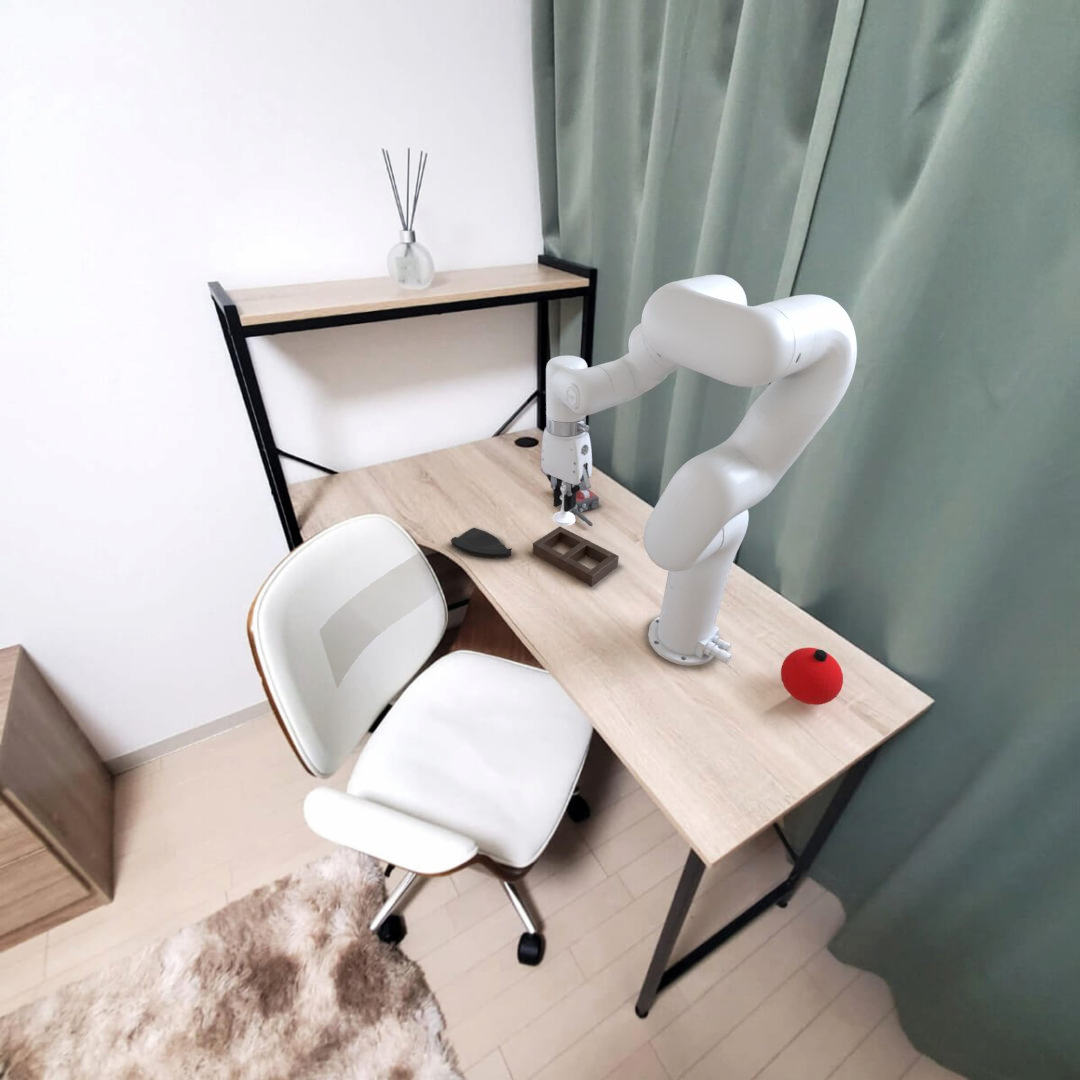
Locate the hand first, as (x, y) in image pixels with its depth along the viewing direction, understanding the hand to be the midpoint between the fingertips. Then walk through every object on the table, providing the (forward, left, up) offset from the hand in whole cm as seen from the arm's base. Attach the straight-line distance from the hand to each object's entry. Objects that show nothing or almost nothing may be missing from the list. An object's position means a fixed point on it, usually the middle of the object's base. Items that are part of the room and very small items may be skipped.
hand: (564, 506), depth 112 cm
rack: (-3, 0, -13) cm, 13 cm away
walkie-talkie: (+10, -18, -13) cm, 24 cm away
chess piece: (0, 0, -4) cm, 4 cm away
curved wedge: (+16, +11, -13) cm, 23 cm away
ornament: (-54, +2, -13) cm, 56 cm away
